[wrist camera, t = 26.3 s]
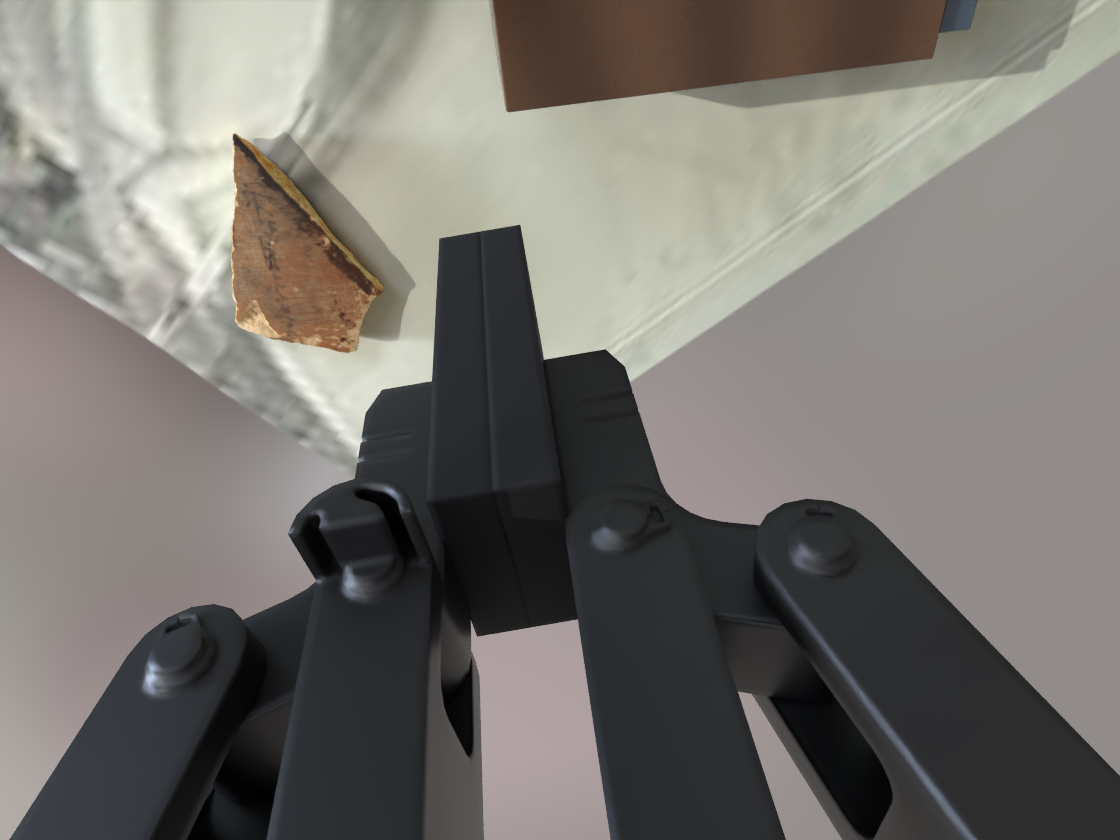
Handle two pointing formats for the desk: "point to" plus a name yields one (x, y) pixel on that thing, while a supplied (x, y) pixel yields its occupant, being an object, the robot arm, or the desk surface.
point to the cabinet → (694, 43)
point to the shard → (291, 262)
